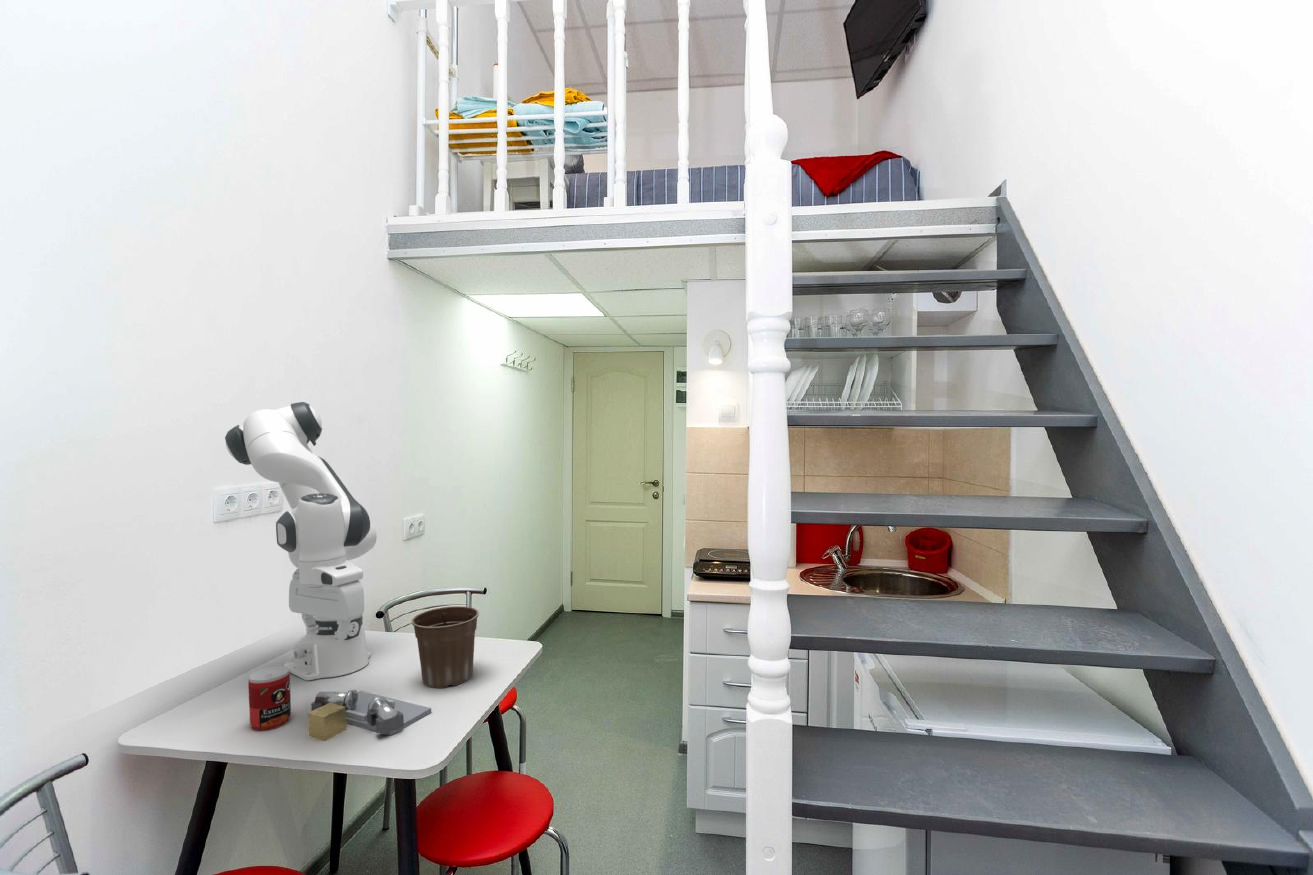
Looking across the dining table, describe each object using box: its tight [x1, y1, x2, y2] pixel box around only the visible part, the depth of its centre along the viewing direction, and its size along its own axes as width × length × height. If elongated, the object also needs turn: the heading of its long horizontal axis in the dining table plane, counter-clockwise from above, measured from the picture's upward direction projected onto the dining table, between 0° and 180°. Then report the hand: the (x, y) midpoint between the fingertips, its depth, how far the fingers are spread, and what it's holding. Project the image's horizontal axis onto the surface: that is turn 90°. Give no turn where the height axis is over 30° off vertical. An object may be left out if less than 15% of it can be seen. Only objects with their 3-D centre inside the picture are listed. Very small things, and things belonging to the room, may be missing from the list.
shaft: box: [310, 689, 358, 712], centre depth 136 cm, size 8×5×4 cm, turn 84°
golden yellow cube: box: [307, 703, 347, 742], centre depth 128 cm, size 5×5×5 cm
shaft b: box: [367, 695, 404, 735], centre depth 130 cm, size 8×5×4 cm, turn 44°
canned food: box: [247, 665, 292, 732], centre depth 133 cm, size 8×8×11 cm
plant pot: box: [411, 605, 480, 689], centre depth 155 cm, size 16×16×16 cm
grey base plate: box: [346, 690, 432, 736], centre depth 136 cm, size 23×11×2 cm, turn 64°
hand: (326, 636), depth 128 cm, fingers open, 8 cm apart
